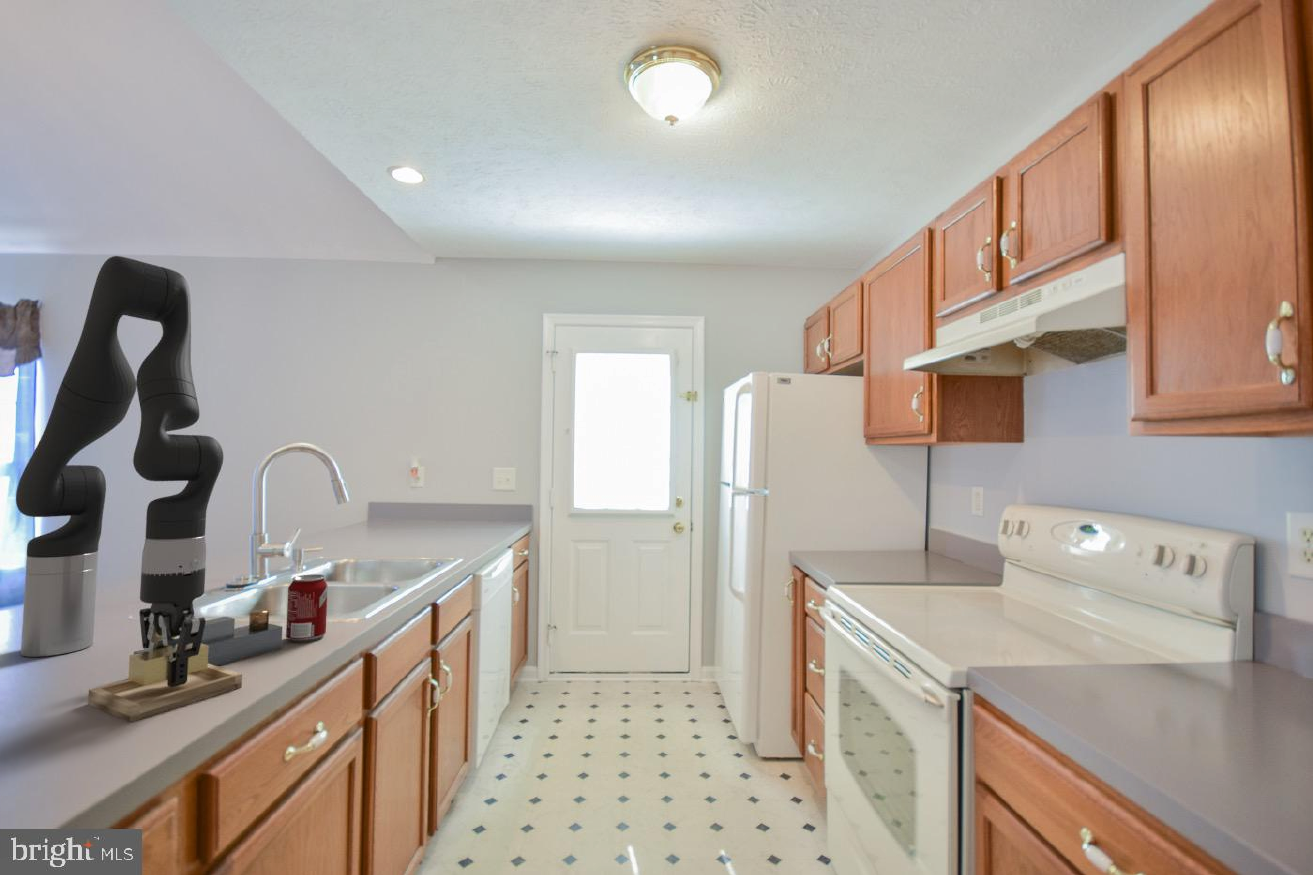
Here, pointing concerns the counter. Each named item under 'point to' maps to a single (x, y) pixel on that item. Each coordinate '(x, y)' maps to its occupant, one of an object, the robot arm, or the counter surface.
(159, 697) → the parts tray
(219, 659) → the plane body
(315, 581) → the soda can
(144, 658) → the pale wooden block
